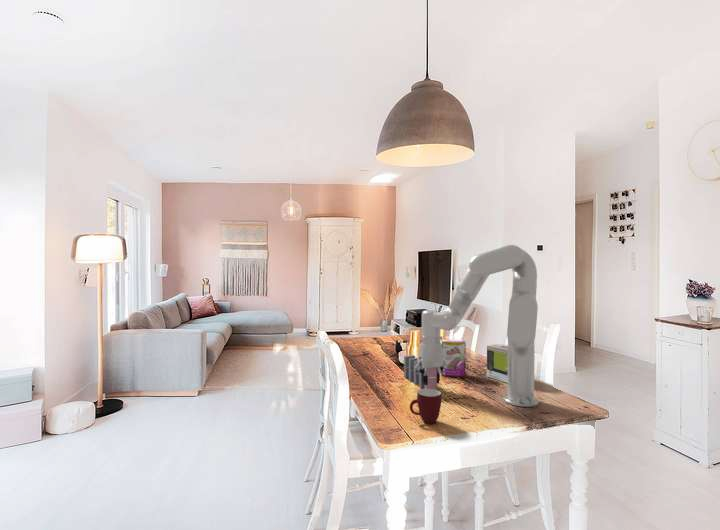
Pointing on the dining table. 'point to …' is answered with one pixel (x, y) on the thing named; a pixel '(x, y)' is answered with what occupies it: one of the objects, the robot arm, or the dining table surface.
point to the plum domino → (432, 378)
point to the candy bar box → (453, 357)
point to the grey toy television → (497, 362)
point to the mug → (428, 405)
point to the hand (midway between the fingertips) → (430, 383)
